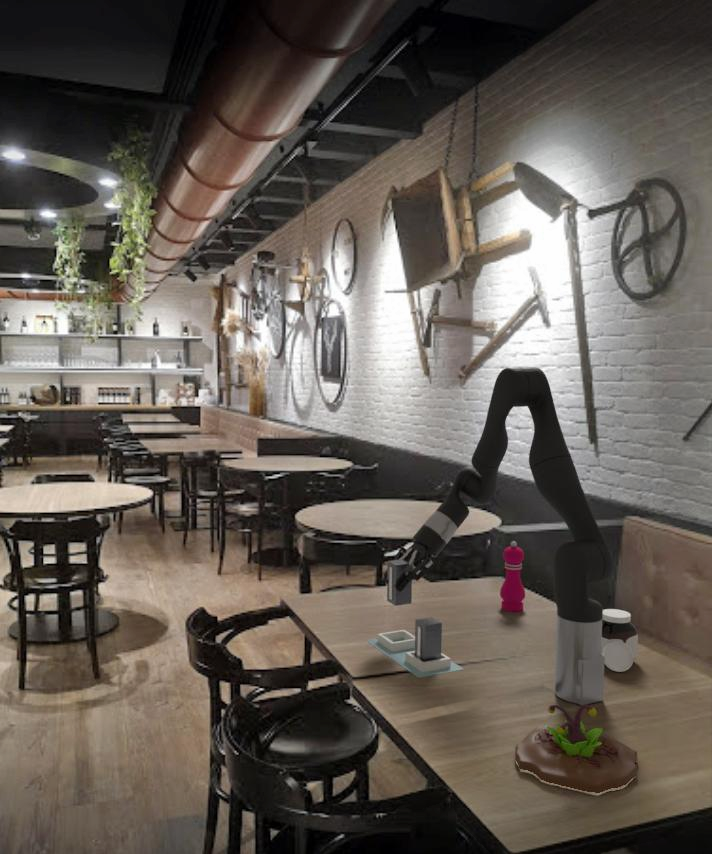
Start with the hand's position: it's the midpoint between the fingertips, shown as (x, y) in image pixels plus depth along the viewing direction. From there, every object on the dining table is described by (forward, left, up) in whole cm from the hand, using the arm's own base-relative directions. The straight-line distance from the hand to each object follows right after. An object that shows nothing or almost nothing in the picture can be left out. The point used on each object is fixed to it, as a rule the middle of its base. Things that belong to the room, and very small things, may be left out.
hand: (392, 586), depth 185 cm
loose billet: (0, -2, -4) cm, 5 cm away
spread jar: (-29, -45, -16) cm, 56 cm away
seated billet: (-14, -2, -15) cm, 20 cm away
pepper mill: (+16, -49, -16) cm, 54 cm away
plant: (-61, -4, -17) cm, 63 cm away
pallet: (-7, -2, -16) cm, 18 cm away
